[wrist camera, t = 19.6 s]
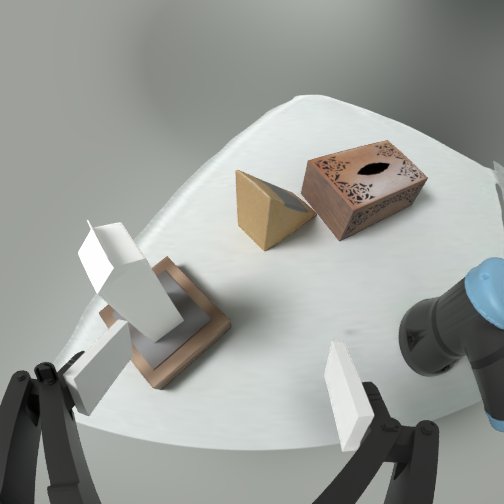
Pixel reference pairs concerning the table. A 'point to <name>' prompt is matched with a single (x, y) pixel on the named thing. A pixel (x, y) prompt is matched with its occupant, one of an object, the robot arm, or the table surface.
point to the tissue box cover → (360, 186)
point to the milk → (128, 280)
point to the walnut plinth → (182, 336)
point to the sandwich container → (268, 210)
